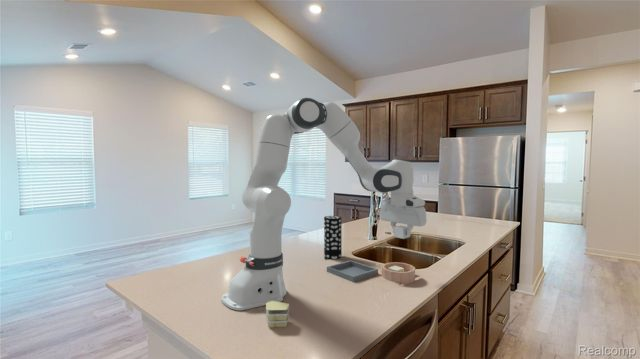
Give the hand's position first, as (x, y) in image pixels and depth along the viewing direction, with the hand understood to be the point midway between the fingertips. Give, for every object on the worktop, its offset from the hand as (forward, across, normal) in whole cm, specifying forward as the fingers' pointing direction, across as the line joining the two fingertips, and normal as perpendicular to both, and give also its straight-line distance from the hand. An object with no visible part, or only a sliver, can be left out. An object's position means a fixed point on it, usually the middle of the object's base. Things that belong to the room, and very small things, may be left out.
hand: (401, 234), depth 133 cm
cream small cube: (+17, 0, -4) cm, 17 cm away
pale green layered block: (+18, 0, -59) cm, 62 cm away
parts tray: (+17, -15, -13) cm, 26 cm away
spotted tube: (+18, -37, -4) cm, 41 cm away
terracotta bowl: (+18, 0, -2) cm, 18 cm away
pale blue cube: (+1, 0, 0) cm, 1 cm away
